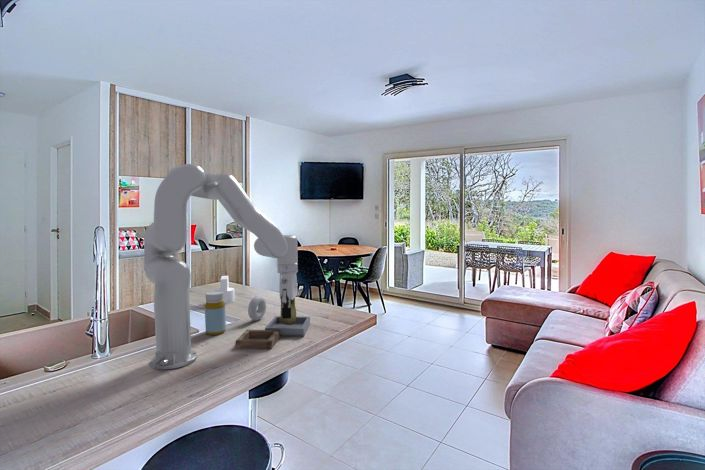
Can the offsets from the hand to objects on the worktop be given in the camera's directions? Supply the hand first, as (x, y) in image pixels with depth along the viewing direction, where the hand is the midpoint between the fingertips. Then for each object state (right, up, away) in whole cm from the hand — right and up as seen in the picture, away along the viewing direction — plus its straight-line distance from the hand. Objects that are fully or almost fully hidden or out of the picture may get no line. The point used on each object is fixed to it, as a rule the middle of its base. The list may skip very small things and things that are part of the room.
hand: (288, 315), depth 138 cm
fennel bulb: (0, -4, 0) cm, 4 cm away
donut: (-15, -5, +12) cm, 20 cm away
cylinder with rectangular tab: (-38, -2, +41) cm, 57 cm away
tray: (0, -6, 0) cm, 6 cm away
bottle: (-27, -6, -2) cm, 27 cm away
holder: (-8, -7, -12) cm, 16 cm away
